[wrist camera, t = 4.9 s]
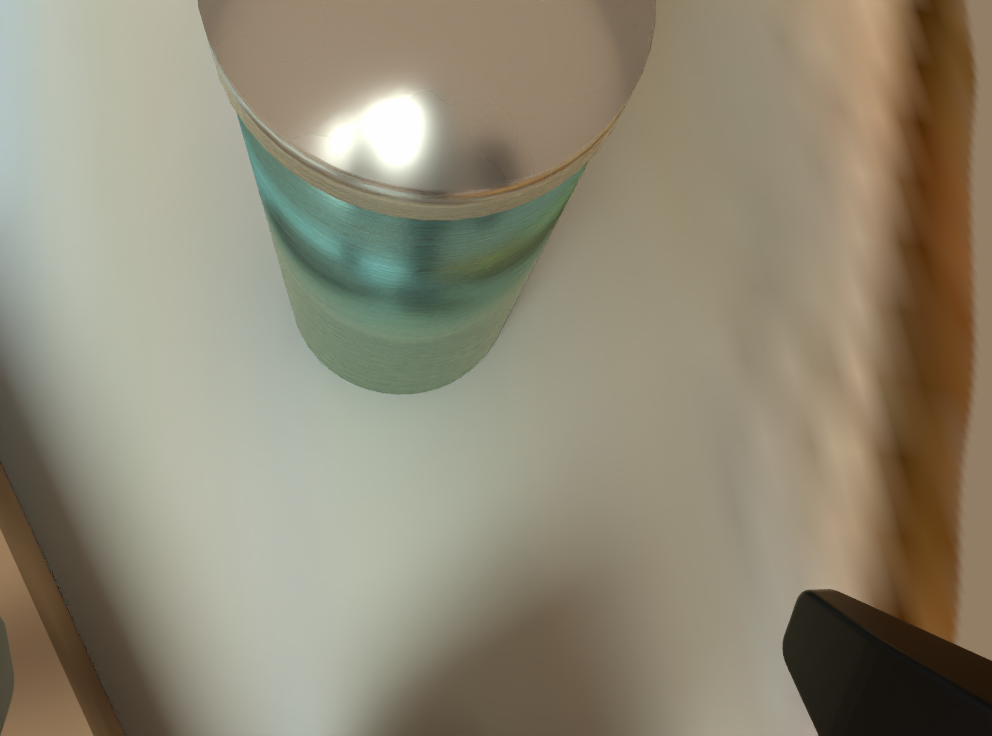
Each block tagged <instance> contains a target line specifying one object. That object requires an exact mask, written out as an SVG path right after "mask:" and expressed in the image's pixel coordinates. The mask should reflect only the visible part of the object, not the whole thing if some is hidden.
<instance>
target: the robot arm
mask: <svg viewBox="0 0 992 736" xmlns="http://www.w3.org/2000/svg"><path fill="white" fill-rule="evenodd" d="M783 656H784V660H785V663H786V665H787V667H788V670H789V672H790V674H791V676H792V678H793V681H794V683H795V685H796V687H797V689H798V692H799V694H800V696H801V698H802V700H803V702H804V705H805V707H806V709H807V711H808V713H809V716H810V718H811V720H812V722H813V724H814V727H815V729H816V731H817V733H818V735H819V736H992V661H991V660H989V659H986V658H984V657H982V656H980V655H977V654H975V653H973V652H971V651H969V650H966V649H964V648H962V647H960V646H958V645H955V644H953V643H951V642H949V641H947V640H944V639H942V638H940V637H938V636H936V635H933V634H931V633H929V632H927V631H925V630H922V629H920V628H918V627H916V626H914V625H911V624H909V623H907V622H905V621H902V620H900V619H898V618H896V617H894V616H891V615H889V614H887V613H885V612H883V611H880V610H878V609H876V608H874V607H872V606H869V605H867V604H865V603H863V602H861V601H858V600H856V599H854V598H852V597H849V596H847V595H845V594H843V593H841V592H838V591H835V590H831V589H821V590H806V591H804V592H802V593H801V594H800V595H799V597H798V599H797V601H796V604H795V607H794V610H793V612H792V615H791V618H790V621H789V624H788V626H787V629H786V632H785V635H784V638H783ZM13 691H14V668H13V663H12V657H11V652H10V646H9V641H8V635H7V630H6V625H5V622H4V620H3V619H2V618H1V617H0V736H1V733H2V729H3V726H4V723H5V720H6V717H7V713H8V710H9V707H10V704H11V700H12V696H13Z"/></svg>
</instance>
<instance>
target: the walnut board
mask: <svg viewBox="0 0 992 736" xmlns="http://www.w3.org/2000/svg"><path fill="white" fill-rule="evenodd" d="M0 617H1V618H2V619H3V620H4V622H5V625H6V630H7V635H8V641H9V646H10V652H11V657H12V663H13V668H14V691H13V696H12V700H11V704H10V707H9V710H8V713H7V717H6V720H5V723H4V726H3V729H2V733H1V736H125V735H124V732H123V730H122V728H121V726H120V724H119V721H118V719H117V717H116V715H115V713H114V710H113V708H112V706H111V704H110V702H109V699H108V697H107V695H106V693H105V691H104V688H103V686H102V684H101V682H100V680H99V677H98V675H97V673H96V671H95V669H94V666H93V664H92V662H91V660H90V658H89V655H88V653H87V651H86V649H85V647H84V645H83V642H82V640H81V638H80V636H79V634H78V631H77V629H76V627H75V625H74V623H73V620H72V618H71V616H70V614H69V612H68V609H67V607H66V605H65V603H64V601H63V598H62V596H61V594H60V592H59V590H58V587H57V585H56V583H55V581H54V579H53V576H52V574H51V572H50V570H49V568H48V565H47V563H46V561H45V559H44V557H43V554H42V552H41V550H40V548H39V546H38V544H37V541H36V539H35V537H34V535H33V533H32V530H31V528H30V526H29V524H28V522H27V519H26V517H25V515H24V513H23V511H22V508H21V506H20V504H19V502H18V500H17V497H16V495H15V493H14V491H13V489H12V486H11V484H10V482H9V480H8V478H7V475H6V473H5V471H4V469H3V467H2V464H1V462H0Z"/></svg>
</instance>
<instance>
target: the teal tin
mask: <svg viewBox="0 0 992 736" xmlns="http://www.w3.org/2000/svg"><path fill="white" fill-rule="evenodd" d="M655 5H656V0H198V6H199V10H200V14H201V17H202V21H203V24H204V28H205V31H206V35H207V38H208V41H209V45H210V48H211V51H212V55H213V58H214V61H215V65H216V68H217V72H218V75H219V78H220V81H221V83H222V85H223V87H224V89H225V92H226V94H227V96H228V98H229V100H230V102H231V104H232V106H233V107H234V109H235V111H236V112H237V115H238V119H239V122H240V126H241V129H242V133H243V137H244V140H245V144H246V147H247V151H248V154H249V158H250V161H251V165H252V168H253V172H254V175H255V179H256V182H257V186H258V189H259V193H260V196H261V200H262V204H263V207H264V211H265V214H266V218H267V221H268V225H269V228H270V232H271V235H272V239H273V242H274V246H275V249H276V253H277V256H278V260H279V263H280V267H281V271H282V274H283V278H284V281H285V285H286V288H287V292H288V295H289V299H290V302H291V306H292V309H293V313H294V316H295V320H296V323H297V325H298V328H299V330H300V332H301V334H302V337H303V338H304V340H305V341H306V343H307V345H308V346H309V348H310V349H311V350H312V352H313V353H314V354H315V355H316V356H317V358H318V359H319V360H320V361H321V362H322V363H323V364H325V365H326V366H327V367H328V368H329V369H330V370H331V371H333V372H334V373H336V374H337V375H339V376H340V377H341V378H343V379H345V380H347V381H349V382H351V383H353V384H355V385H357V386H360V387H363V388H366V389H368V390H373V391H377V392H381V393H389V394H414V393H421V392H426V391H430V390H433V389H437V388H440V387H442V386H445V385H447V384H449V383H451V382H453V381H455V380H457V379H458V378H460V377H462V376H463V375H465V374H466V373H467V372H469V371H470V370H471V369H472V368H474V367H475V366H476V365H477V364H478V363H479V362H480V361H481V360H482V359H483V358H484V357H485V355H486V354H487V352H488V351H489V350H490V348H491V347H492V346H493V344H494V342H495V340H496V338H497V336H498V334H499V332H500V331H501V329H502V327H503V325H504V323H505V321H506V319H507V317H508V315H509V313H510V311H511V309H512V307H513V305H514V304H515V302H516V300H517V298H518V296H519V294H520V292H521V290H522V288H523V286H524V284H525V282H526V280H527V278H528V277H529V275H530V273H531V271H532V269H533V267H534V265H535V263H536V261H537V259H538V257H539V255H540V253H541V251H542V250H543V248H544V246H545V244H546V242H547V240H548V238H549V236H550V234H551V232H552V230H553V228H554V226H555V224H556V223H557V221H558V219H559V217H560V215H561V213H562V211H563V209H564V207H565V205H566V203H567V201H568V199H569V197H570V196H571V194H572V192H573V190H574V188H575V186H576V184H577V182H578V180H579V178H580V176H581V174H582V172H583V170H584V169H585V167H586V165H587V163H588V161H589V159H590V158H591V157H592V156H593V155H594V154H595V153H596V152H597V151H598V149H599V148H600V147H601V145H602V144H603V143H604V141H605V140H606V138H607V137H608V136H609V134H610V133H611V131H612V129H613V127H614V125H615V124H616V122H617V120H618V118H619V116H620V114H621V112H622V111H623V109H624V107H625V105H626V103H627V101H628V99H629V97H630V96H631V94H632V92H633V90H634V88H635V86H636V84H637V82H638V80H639V78H640V77H641V75H642V72H643V69H644V66H645V64H646V61H647V58H648V55H649V52H650V49H651V43H652V38H653V32H654V27H655Z"/></svg>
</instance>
